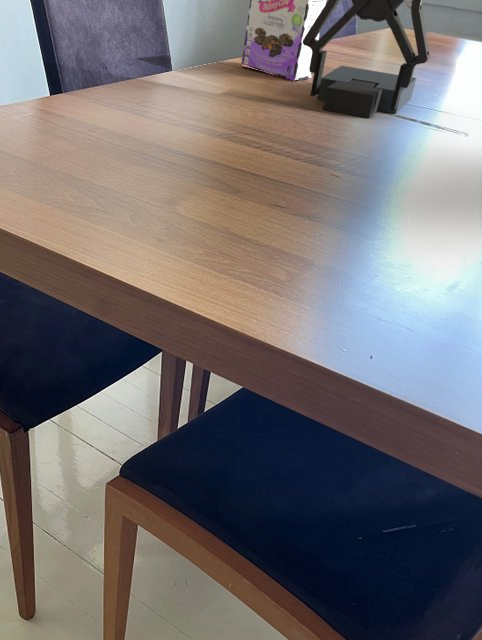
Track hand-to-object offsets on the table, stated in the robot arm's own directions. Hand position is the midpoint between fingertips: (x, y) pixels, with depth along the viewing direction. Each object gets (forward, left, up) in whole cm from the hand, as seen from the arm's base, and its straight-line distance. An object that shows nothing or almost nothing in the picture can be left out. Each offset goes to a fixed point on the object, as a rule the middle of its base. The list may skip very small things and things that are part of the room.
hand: (353, 101), depth 123 cm
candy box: (+20, -20, -2) cm, 28 cm away
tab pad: (0, -2, -1) cm, 2 cm away
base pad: (0, -11, -1) cm, 11 cm away
